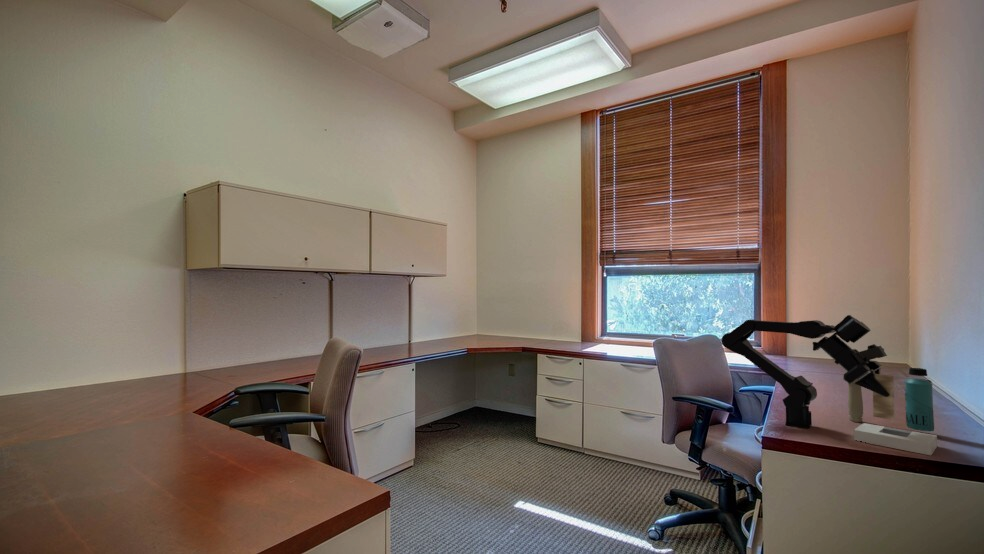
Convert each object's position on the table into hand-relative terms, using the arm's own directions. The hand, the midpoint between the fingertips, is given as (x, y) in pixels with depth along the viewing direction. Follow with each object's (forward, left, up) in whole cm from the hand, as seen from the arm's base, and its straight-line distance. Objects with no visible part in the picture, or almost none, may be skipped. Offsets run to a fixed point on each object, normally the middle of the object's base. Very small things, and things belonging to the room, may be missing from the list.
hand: (889, 395), depth 128 cm
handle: (-6, +24, -14) cm, 28 cm away
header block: (+1, 0, -13) cm, 14 cm away
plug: (-1, 0, -7) cm, 7 cm away
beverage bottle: (+9, +18, -14) cm, 24 cm away
